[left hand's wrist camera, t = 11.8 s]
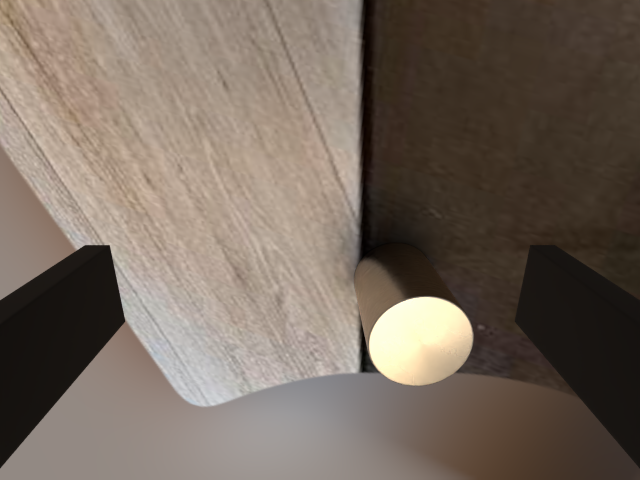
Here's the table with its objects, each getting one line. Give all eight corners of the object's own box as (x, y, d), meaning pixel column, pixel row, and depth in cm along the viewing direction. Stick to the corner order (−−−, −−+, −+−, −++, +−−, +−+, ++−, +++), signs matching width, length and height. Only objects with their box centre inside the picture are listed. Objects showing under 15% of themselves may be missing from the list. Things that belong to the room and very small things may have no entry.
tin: (440, 299, 30) (483, 369, 23) (367, 322, 31) (384, 398, 23) (421, 231, 29) (461, 282, 21) (343, 256, 29) (354, 315, 21)
